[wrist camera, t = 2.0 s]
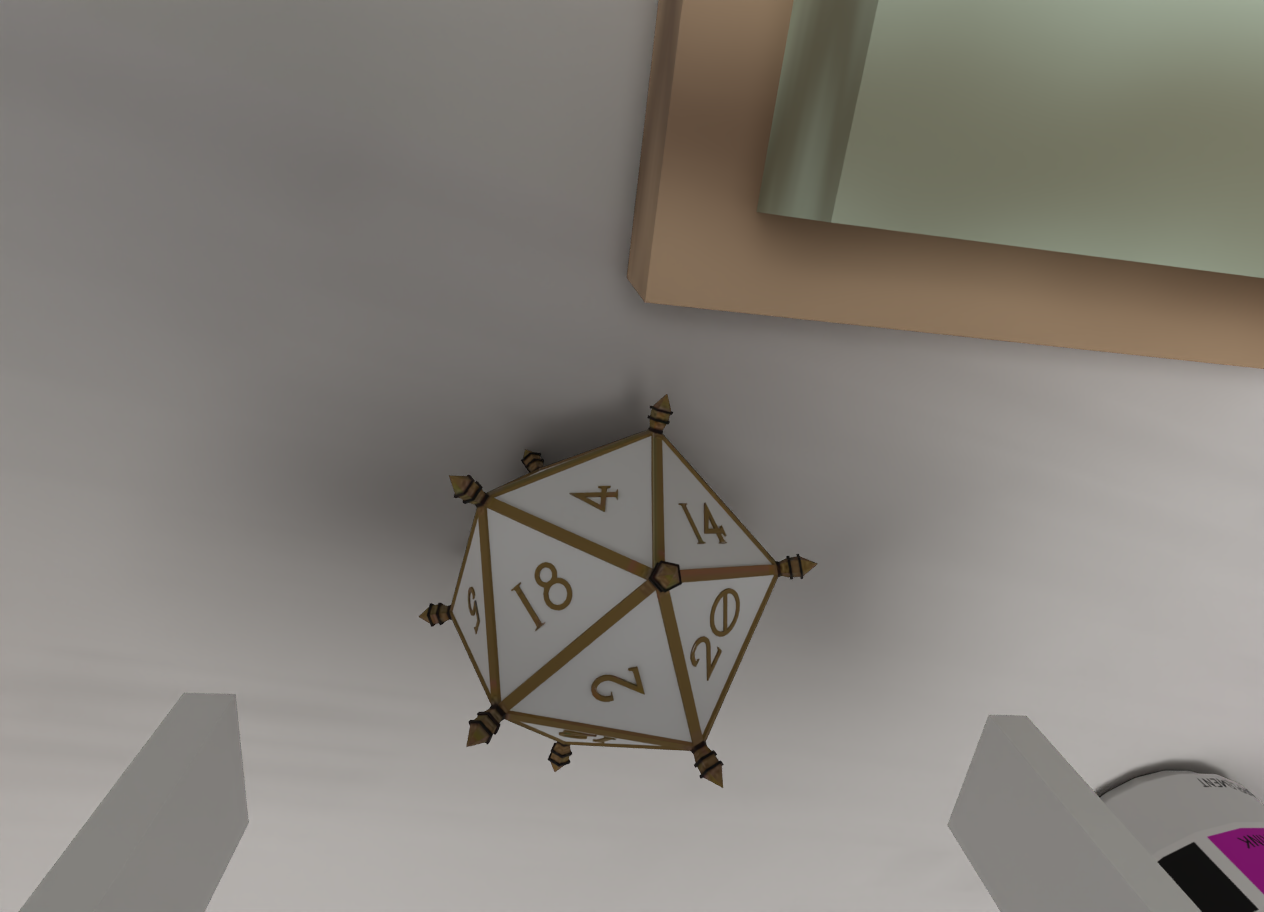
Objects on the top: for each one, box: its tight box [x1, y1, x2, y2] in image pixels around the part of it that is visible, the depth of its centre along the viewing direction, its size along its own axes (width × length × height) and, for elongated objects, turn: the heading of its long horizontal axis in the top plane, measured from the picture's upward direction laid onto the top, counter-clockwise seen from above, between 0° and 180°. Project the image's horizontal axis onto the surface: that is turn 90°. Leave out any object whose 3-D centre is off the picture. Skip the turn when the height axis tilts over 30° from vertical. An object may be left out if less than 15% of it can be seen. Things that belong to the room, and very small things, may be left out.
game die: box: [419, 394, 817, 788], centre depth 17 cm, size 9×8×10 cm
